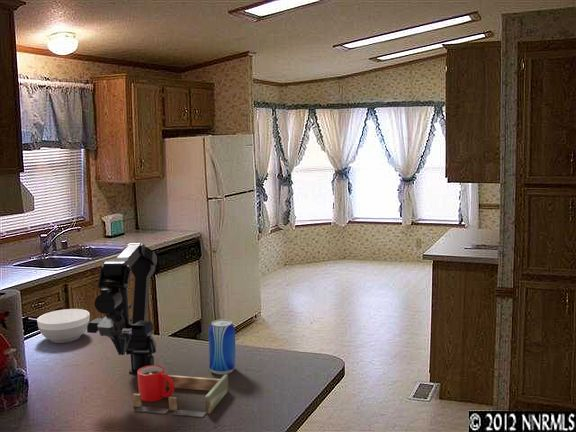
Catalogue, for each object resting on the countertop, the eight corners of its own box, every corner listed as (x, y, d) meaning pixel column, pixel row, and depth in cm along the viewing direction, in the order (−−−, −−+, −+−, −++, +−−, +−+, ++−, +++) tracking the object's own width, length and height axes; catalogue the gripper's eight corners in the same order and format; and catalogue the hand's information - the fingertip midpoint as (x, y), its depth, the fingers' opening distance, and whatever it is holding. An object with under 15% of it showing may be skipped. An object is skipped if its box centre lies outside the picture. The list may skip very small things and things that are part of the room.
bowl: (31, 338, 231) (29, 316, 230) (79, 326, 243) (78, 305, 242) (49, 350, 217) (47, 327, 215) (99, 338, 229) (97, 315, 228)
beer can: (231, 376, 189) (230, 327, 187) (206, 374, 191) (205, 326, 188) (238, 366, 197) (238, 319, 195) (213, 364, 199) (213, 317, 196)
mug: (167, 405, 170) (165, 379, 169) (133, 398, 175) (131, 373, 174) (183, 394, 177) (181, 368, 176) (150, 388, 182) (148, 363, 181)
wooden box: (129, 410, 167) (127, 393, 167) (157, 384, 184) (156, 369, 184) (206, 418, 162) (205, 400, 161) (228, 390, 179) (227, 374, 178)
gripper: (73, 310, 170) (78, 363, 172) (133, 313, 165) (137, 367, 167) (95, 299, 180) (99, 349, 182) (152, 301, 176) (155, 353, 178)
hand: (121, 354), depth 177 cm, fingers closed
